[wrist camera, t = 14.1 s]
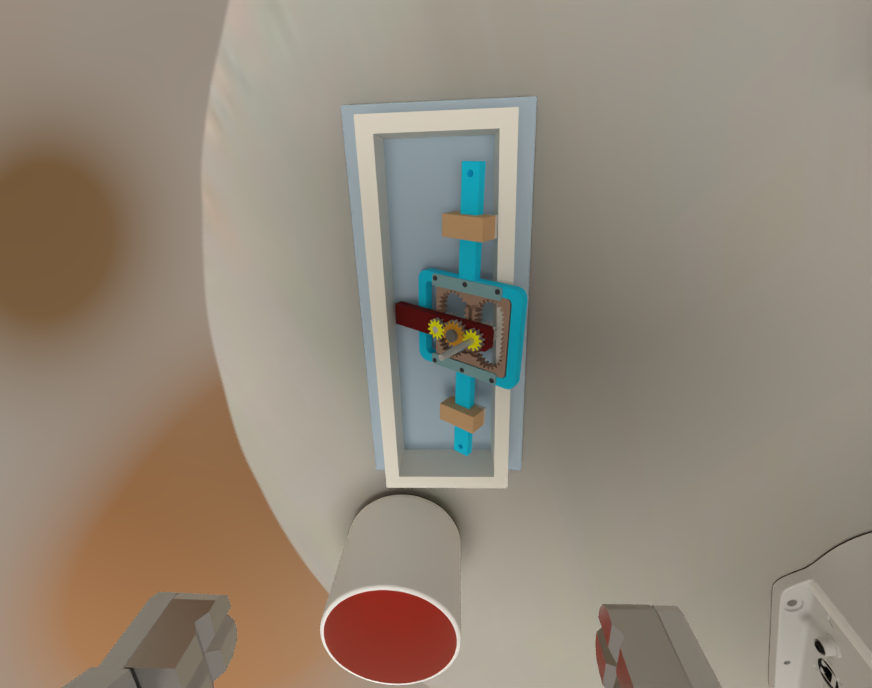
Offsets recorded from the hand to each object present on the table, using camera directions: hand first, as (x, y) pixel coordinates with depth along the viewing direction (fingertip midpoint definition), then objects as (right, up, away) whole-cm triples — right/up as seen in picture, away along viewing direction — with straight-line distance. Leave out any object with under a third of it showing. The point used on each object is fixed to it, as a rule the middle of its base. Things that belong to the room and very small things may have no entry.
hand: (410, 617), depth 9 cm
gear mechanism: (-3, +8, +21) cm, 22 cm away
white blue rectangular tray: (+1, +9, +23) cm, 24 cm away
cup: (-2, -11, +31) cm, 33 cm away
